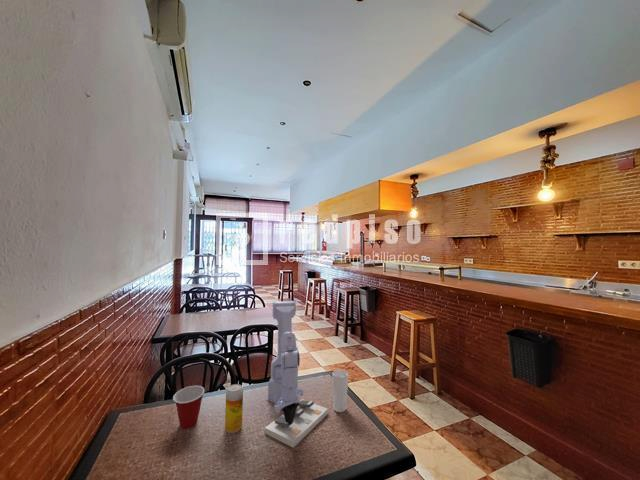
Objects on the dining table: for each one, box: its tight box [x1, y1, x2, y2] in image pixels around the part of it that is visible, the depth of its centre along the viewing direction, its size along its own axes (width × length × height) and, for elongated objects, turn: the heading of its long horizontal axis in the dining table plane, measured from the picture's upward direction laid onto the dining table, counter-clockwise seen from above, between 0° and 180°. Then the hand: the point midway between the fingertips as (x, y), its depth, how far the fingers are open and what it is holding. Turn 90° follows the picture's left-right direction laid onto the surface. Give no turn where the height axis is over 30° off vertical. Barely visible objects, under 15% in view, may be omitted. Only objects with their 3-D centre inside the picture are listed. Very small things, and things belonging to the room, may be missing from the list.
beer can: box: [224, 383, 244, 434], centre depth 101 cm, size 6×6×15 cm
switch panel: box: [264, 399, 329, 448], centre depth 105 cm, size 13×23×2 cm, turn 148°
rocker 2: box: [294, 409, 304, 416], centre depth 106 cm, size 6×3×1 cm, turn 58°
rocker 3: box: [299, 399, 315, 408], centre depth 112 cm, size 6×3×1 cm, turn 58°
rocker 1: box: [274, 415, 290, 427], centre depth 100 cm, size 6×3×1 cm, turn 58°
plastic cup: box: [172, 385, 205, 430], centre depth 103 cm, size 11×11×12 cm
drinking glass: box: [331, 369, 349, 413], centre depth 115 cm, size 7×7×15 cm
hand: (289, 423), depth 98 cm, fingers closed, pressing on rocker 1
